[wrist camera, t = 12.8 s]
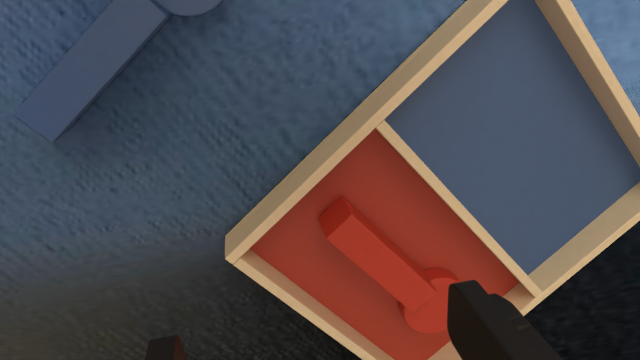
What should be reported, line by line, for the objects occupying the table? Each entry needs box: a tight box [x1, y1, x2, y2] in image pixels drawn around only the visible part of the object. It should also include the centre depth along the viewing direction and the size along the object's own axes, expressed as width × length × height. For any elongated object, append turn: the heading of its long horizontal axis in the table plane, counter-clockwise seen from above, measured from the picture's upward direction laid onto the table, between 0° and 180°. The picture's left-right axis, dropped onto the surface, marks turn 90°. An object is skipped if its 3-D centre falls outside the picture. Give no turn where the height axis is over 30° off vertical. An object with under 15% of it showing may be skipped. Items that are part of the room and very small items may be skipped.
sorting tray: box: [225, 0, 640, 360], centre depth 28 cm, size 18×22×3 cm
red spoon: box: [318, 196, 460, 334], centre depth 28 cm, size 12×4×2 cm, turn 43°
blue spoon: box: [13, 0, 223, 143], centre depth 21 cm, size 12×4×2 cm, turn 133°
